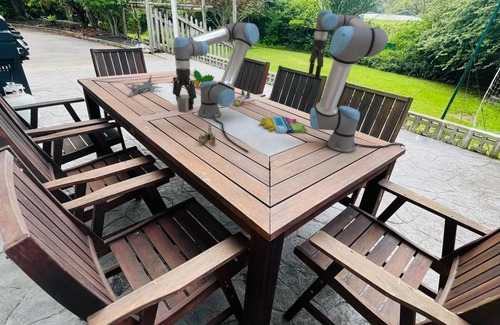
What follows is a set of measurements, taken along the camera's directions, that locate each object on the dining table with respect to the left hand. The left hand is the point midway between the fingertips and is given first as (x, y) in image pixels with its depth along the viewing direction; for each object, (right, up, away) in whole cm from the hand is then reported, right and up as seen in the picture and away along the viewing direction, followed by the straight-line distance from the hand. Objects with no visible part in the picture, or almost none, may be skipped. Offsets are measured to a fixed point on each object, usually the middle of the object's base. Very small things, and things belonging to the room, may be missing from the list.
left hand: (185, 108), depth 155 cm
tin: (0, -1, +1) cm, 1 cm away
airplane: (-56, +30, +75) cm, 98 cm away
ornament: (-7, +41, +100) cm, 108 cm away
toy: (+31, +19, +66) cm, 76 cm away
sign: (+60, -7, +22) cm, 64 cm away
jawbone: (+15, -21, -7) cm, 27 cm away
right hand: (+79, +23, +12) cm, 83 cm away
